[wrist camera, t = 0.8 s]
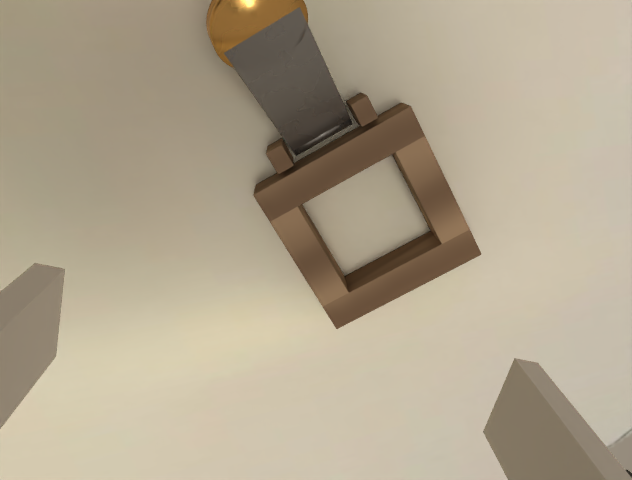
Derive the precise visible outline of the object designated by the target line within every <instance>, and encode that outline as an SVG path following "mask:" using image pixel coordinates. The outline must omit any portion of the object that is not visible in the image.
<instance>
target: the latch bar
mask: <svg viewBox="0 0 632 480" xmlns="http://www.w3.org/2000/svg"><path fill="white" fill-rule="evenodd" d="M307 23H308V13H307V8H306V5H305V3H304V1H303V0H212V2H211V4H210V6H209V9H208V13H207V19H206V25H207V31H208V35H209V37H210V40H211V42H212V44H213V46H214V48H215V51H216V53H217V54H218V56H219V57H220V58H221V59H222V60H223V61H224V62H225V63H226V64H228V65H229V66H231V67H233V68H235V70H236V71H237V73H238V74H239V75H240V77H241V78H242V80H243V81H244V83H245V84H246V85H247V87H248V88H249V90H250V91H251V92H252V94H253V95H254V97H255V98H256V100H257V101H258V102H259V104H260V105H261V107H262V108H263V109H264V111H265V112H266V114H267V115H268V117H269V118H270V119H271V121H272V122H273V124H274V125H275V126H276V128H277V129H278V131H279V132H280V134H281V135H282V136H283V138H284V139H285V141H286V142H287V144H288V145H289V146H290V148H291V149H292V151H293V152H294V153H295V155H296V156H297V155H298V154H300V153H302V152H304V151H306V150H307V149H309V148H311V147H313V146H314V145H316V144H318V143H320V142H321V141H323V140H325V139H327V138H328V137H330V136H332V135H334V134H335V133H337V132H339V131H341V130H342V129H344V128H346V127H348V126H350V125H351V124H353V123H352V121H351V119H350V117H349V114H348V112H347V110H346V108H345V106H344V103H343V101H342V99H341V97H340V95H339V92H338V90H337V88H336V86H335V84H334V81H333V79H332V77H331V75H330V73H329V70H328V68H327V66H326V64H325V62H324V59H323V57H322V55H321V53H320V50H319V48H318V46H317V44H316V42H315V39H314V37H313V35H312V33H311V31H310V28H309V26H308V24H307Z"/></svg>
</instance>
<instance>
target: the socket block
mask: <svg viewBox="0 0 632 480" xmlns="http://www.w3.org/2000/svg"><path fill="white" fill-rule="evenodd" d="M346 102H347V104H348V106H349V108H350V110H351V112H352V114H353V116H354V118H355V120H356V122H357V123H359V124H360V125H361V126H359V127H357V128H355V129H354V130H352V131H350V132H348V133H347V134H345V135H343V136H341V137H340V138H338V139H336V140H334V141H333V142H331V143H329V144H327V145H325V146H324V147H322V148H320V149H318V150H317V151H315V152H313V153H311V154H310V155H308V156H306V157H304V158H303V159H301V160H299V161H297V162H295V163H294V162H293V156H292V154H291V153H290V151H289V149H288V147H287V146H286V144H285V142H284V141H283V139H282V138H281V139H280V140H278V141H276V142H274V143H273V144H271V145H269V146H268V147H267V152H266V155H267V156H268V158H269V160H270V161H271V163H272V165H273V166H274V168H275V170H276V171H277V173H276V174H274V175H273V176H271V177H269V178H267V179H265V180H264V181H262V182H260V183H258V184H257V185H256V187H255V191H254V197H255V199H256V200H257V202H258V203H259V205H260V207H261V208H262V210H263V211H264V213H265V215H266V216H267V218H268V219H269V221H270V223H271V224H272V226H273V228H274V229H275V231H276V232H277V234H278V236H279V237H280V239H281V240H282V242H283V244H284V245H285V247H286V248H287V250H288V252H289V253H290V255H291V256H292V258H293V260H294V261H295V263H296V264H297V266H298V268H299V269H300V271H301V273H302V274H303V276H304V277H305V279H306V281H307V282H308V284H309V285H310V287H311V289H312V290H313V292H314V293H315V295H316V297H317V298H318V300H319V301H320V303H321V305H322V306H323V308H324V309H325V311H326V313H327V314H328V316H329V318H330V319H331V321H332V322H333V324H334V326H335V327H336V329H338V328H340V327H342V326H344V325H346V324H348V323H350V322H351V321H353V320H355V319H357V318H359V317H361V316H363V315H365V314H367V313H369V312H371V311H373V310H375V309H377V308H379V307H381V306H382V305H384V304H386V303H388V302H390V301H392V300H394V299H396V298H398V297H400V296H402V295H404V294H406V293H408V292H410V291H412V290H413V289H415V288H417V287H419V286H421V285H423V284H425V283H427V282H429V281H431V280H433V279H435V278H437V277H439V276H441V275H443V274H444V273H446V272H448V271H450V270H452V269H454V268H456V267H458V266H460V265H462V264H464V263H466V262H468V261H470V260H472V259H474V258H475V257H477V256H479V255H481V252H480V250H479V248H478V246H477V244H476V242H475V240H474V237H473V235H472V233H471V231H470V229H469V227H468V225H467V223H466V221H465V219H464V217H463V214H462V212H461V210H460V208H459V206H458V204H457V202H456V200H455V198H454V196H453V193H452V191H451V189H450V187H449V185H448V183H447V181H446V179H445V177H444V175H443V173H442V170H441V168H440V166H439V164H438V162H437V160H436V158H435V156H434V154H433V152H432V150H431V147H430V145H429V143H428V141H427V139H426V137H425V135H424V133H423V131H422V129H421V127H420V124H419V122H418V120H417V118H416V116H415V114H414V112H413V110H412V108H411V106H409V105H406V104H404V103H400V104H398V105H396V106H394V107H393V108H391V109H389V110H387V111H385V112H384V113H382V114H380V115H378V116H377V114H376V112H375V110H374V108H373V106H372V104H371V102H370V100H369V98H368V96H367V95H365V94H363V93H360V94H358V95H356V96H354V97H353V98H351V99H349V100H347V101H346ZM391 154H392V155H393V157H394V159H395V161H396V163H397V165H398V167H399V169H400V171H401V173H402V175H403V177H404V178H405V180H406V182H407V184H408V186H409V188H410V190H411V192H412V194H413V196H414V198H415V200H416V202H417V204H418V206H419V208H420V210H421V212H422V214H423V216H424V218H425V220H426V222H427V224H428V226H429V228H430V230H431V231H430V232H428V233H426V234H424V235H422V236H420V237H418V238H417V239H415V240H413V241H411V242H409V243H407V244H405V245H403V246H401V247H400V248H398V249H396V250H394V251H392V252H390V253H388V254H386V255H384V256H382V257H381V258H379V259H377V260H375V261H373V262H371V263H369V264H367V265H365V266H364V267H362V268H360V269H358V270H356V271H354V272H352V273H350V274H348V275H347V276H344V275H343V273H342V271H341V270H340V268H339V266H338V265H337V263H336V261H335V259H334V258H333V256H332V254H331V253H330V251H329V249H328V248H327V246H326V244H325V243H324V241H323V239H322V237H321V236H320V234H319V232H318V231H317V229H316V227H315V226H314V224H313V222H312V221H311V219H310V217H309V215H308V214H307V212H306V210H305V209H304V207H303V205H302V204H303V203H305V202H307V201H308V200H310V199H312V198H314V197H316V196H317V195H319V194H321V193H323V192H325V191H326V190H328V189H330V188H332V187H334V186H335V185H337V184H339V183H341V182H343V181H345V180H346V179H348V178H350V177H352V176H354V175H355V174H357V173H359V172H361V171H363V170H364V169H366V168H368V167H370V166H372V165H373V164H375V163H377V162H379V161H381V160H382V159H384V158H386V157H388V156H390V155H391Z"/></svg>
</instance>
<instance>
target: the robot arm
mask: <svg viewBox="0 0 632 480" xmlns="http://www.w3.org/2000/svg"><path fill="white" fill-rule="evenodd" d="M64 272H65V269H62V268H57V267H52V266H47V265H42V264H37V263H35V264H33V265H32V266H31V267H30V268H29V269H27V270H26V271H25V272H24V273H23V274H21V275H20V276H19V277H18V278H17V279H15V280H14V281H13V282H12V283H10V284H9V285H8V286H7V287H6V288H4V289H3V290H2V291H1V292H0V429H1V427H2V426H3V425H4V423H5V422H6V421H7V419H8V418H9V417H10V416H11V414H12V413H13V412H14V410H15V409H16V408H17V406H18V405H19V404H20V403H21V401H22V400H23V399H24V397H25V396H26V395H27V393H28V392H29V391H30V389H31V388H32V387H33V386H34V384H35V383H36V382H37V380H38V379H39V378H40V376H41V375H42V374H43V373H44V371H45V370H46V369H47V367H48V366H49V365H50V363H51V362H52V361H53V359H54V358H55V357H56V351H57V342H58V332H59V322H60V312H61V302H62V292H63V282H64ZM483 432H484V434H485V436H486V438H487V440H488V442H489V444H490V446H491V448H492V450H493V452H494V453H495V455H496V457H497V459H498V461H499V463H500V465H501V467H502V469H503V471H504V473H505V475H506V477H507V478H508V480H632V473H631V472H630V471H628V470H625V469H624V468H623V467H622V465H621V464H620V463H619V462H618V460H617V459H616V458H615V457H614V456H613V454H612V453H611V452H610V451H609V449H608V448H607V447H606V446H605V445H604V443H603V442H602V441H601V440H600V438H599V437H598V436H597V435H596V433H595V432H594V431H593V430H592V429H591V427H590V426H589V425H588V424H587V422H586V421H585V420H584V419H583V418H582V416H581V415H580V414H579V413H578V411H577V410H576V409H575V408H574V407H573V405H572V404H571V403H570V402H569V400H568V399H567V398H566V397H565V395H564V394H563V393H562V392H561V391H560V389H559V388H558V387H557V386H556V384H555V383H554V382H553V381H552V380H551V378H550V377H549V376H548V375H547V373H546V372H545V371H544V370H543V368H542V367H541V366H540V365H539V364H538V363H536V362H531V361H526V360H521V359H516V358H515V359H514V361H513V363H512V366H511V368H510V370H509V373H508V375H507V377H506V380H505V382H504V384H503V387H502V389H501V391H500V394H499V396H498V398H497V401H496V403H495V405H494V408H493V410H492V412H491V415H490V417H489V419H488V422H487V424H486V426H485V429H484V431H483Z"/></svg>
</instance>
